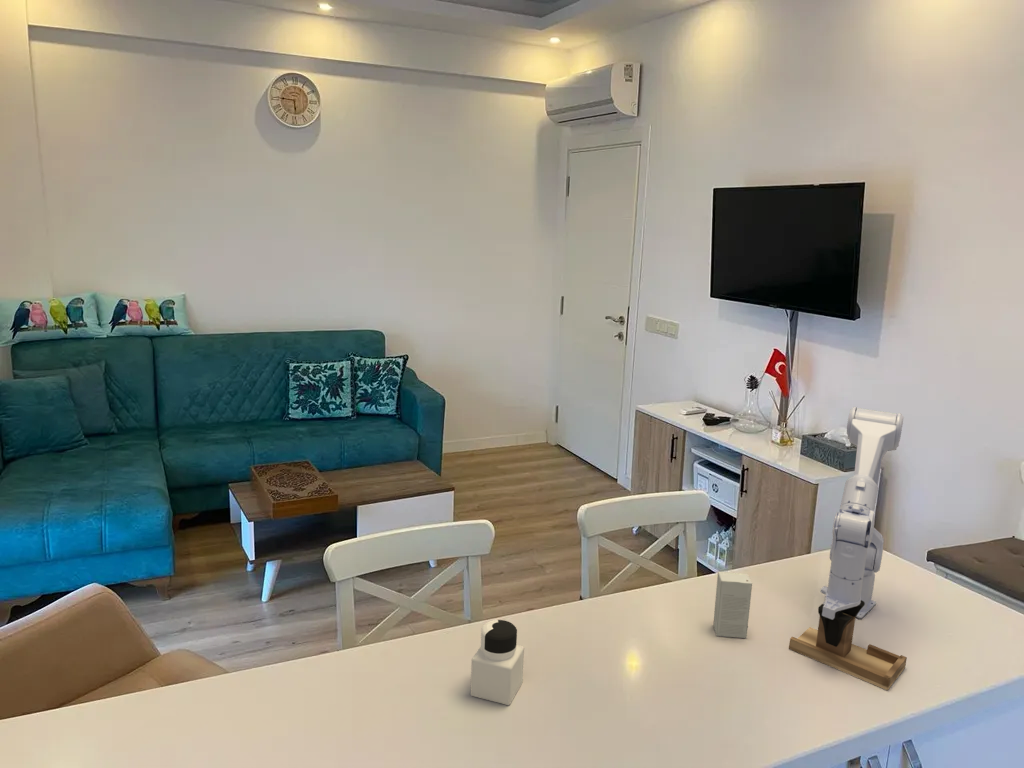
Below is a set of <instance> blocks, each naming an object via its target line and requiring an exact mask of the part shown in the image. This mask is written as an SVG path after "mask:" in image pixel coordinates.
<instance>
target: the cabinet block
mask: <svg viewBox="0 0 1024 768" xmlns="http://www.w3.org/2000/svg"><path fill="white" fill-rule="evenodd" d="M843 614H845V613H843ZM845 615H848V614H845ZM848 616H851V615H848ZM851 617H852V618H851V619H850V620H849V621H848V623H847V624H846V626H845V628H844V631H843V634H842V637H841V640H840V642H839V644H838V646H837V647H835V646H833V645H830V644H828V643H826V640H825V633H824V626H823V622H822V619H821V617H820V616H819V621H818V626H817V627H818V628H817V630H818V634H817V642H816V646H817V647H819V648H821V649H824V650H826V651H829V652H831V653H834V654H836V655H838V656H841V657H843V658H844V657H845V656H846V655H847V654H848V653H849V652H850V651H851V646H852V644H853V639H854V637H853V636H854V632H855V631H854V630H855V622H856V618H855V617H853V616H851Z"/></svg>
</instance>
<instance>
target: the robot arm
mask: <svg viewBox="0 0 1024 768" xmlns="http://www.w3.org/2000/svg"><path fill="white" fill-rule="evenodd" d="M903 424H904V416H903V414H902V413H900V412H898V413H894V412H890V411H889V412H887V411H881V410H874V409H866V408H861V407H858V406H853V407H852V408H850V410H849V414H848V419H847V424H846V434H847V440H848V441H849V443H850V444H853V446H856V455H855V466H854V473H853V475H852V476H851V477H849V478H848V479H847V480H845V484H844V488H843V492H842V498H841V502H840V507H839V512H838V511H836V513H835V516H834V520H833V525H832V532H831V533H832V540H831V544H830V551H829V561H831V562H830V568H829V577H828V582H827V586H826V585H824V586H822V587H821V588H820V593H822V594H824V595H825V600H824V601H823V603H821V604H820V605H819V607H818V611H817V612H818V614H819V618H820V617H821V619H822V622H823V626H824V633H825V640H826V643H828V644H830V645H833V646H835V647H837V646H838V644H839V642H840V640H841V637H842V634H843V631H844V628H845V626H846V624H847V623H848V621H849V620H850V619H851V618H852V617H851V616H853V617H855V619H856V618H857V619H862V618H864V617H865V616H866V615H867V614H868V613H869V612H870V610H872V609H873V608H874V607H875V605H876V604H877V602H876V600H872V599H873V594H874V593H873V591H874V585H875V579H876V574H875V573H878V572H879V571H880V569H881V566H882V565H881V564H882V559H883V552H884V540H885V538H884V537H883V534H882V533H881V532H880V531H879V530H877V529H876V528H875V508H876V502H877V497H878V491H879V482H880V474H881V469H882V462H883V458H884V457H885V455H886V453H887V452H892V451H896V450H897V449H898V447H899V446H900V445H899V444H900V441H901V435H902V429H903ZM843 613H845V614H848V615H851V616H848V615H845V614H843Z"/></svg>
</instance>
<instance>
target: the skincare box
mask: <svg viewBox="0 0 1024 768" xmlns="http://www.w3.org/2000/svg"><path fill="white" fill-rule="evenodd" d="M715 589H716V591H715V601H714V613H713V623H712V624H713V625H712V626H713V629H714V633H715V636H716V637H724V638H725V637H726V638H739V639H747V636H748V627H749V626H748V625H749V618H750V607H751V597H752V589H753V582H752V580H751V578H750V576H749V574H748V573H741V572H739V573H737V572H728V571H727V572H726V571H725V572H724V571H718V572H717V580H716V588H715Z"/></svg>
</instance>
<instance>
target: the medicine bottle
mask: <svg viewBox="0 0 1024 768" xmlns="http://www.w3.org/2000/svg"><path fill="white" fill-rule="evenodd" d="M480 632H481V633H480V636H481V637H480V647H479V648H478V649H477V650H476V652H475V654H474V655H473V656H472V658H471V666H470V667H471V668H470V669H471V671H470V673H471V674H470V696H471V697H475V698H479V699H482V700H487V701H490V702H495V703H498V704H502V705H506V706H509V705H511V703H512V702H513V700H514V698H515V696H516V695H517V693H518V691H519V689H520V688H521V686H522V684H523V681H524V679H523V678H524V677H523V676H524V662H525V661H524V657H525V647H524V646H523V645H520V644H519V645H518V644H517V639H518V629H517V626H515V625H514V624H513V623H512V622H510V621H508V620H503V619H494V620H493V619H492V620H490V621H487V622H486V623H484V624H483V625H482V626H481V630H480Z"/></svg>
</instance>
